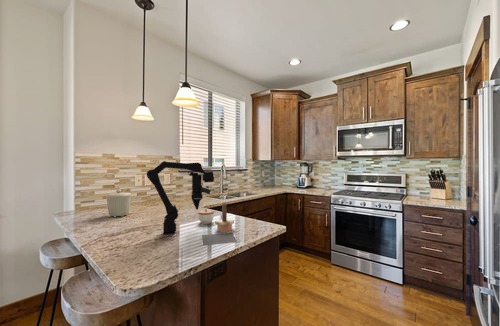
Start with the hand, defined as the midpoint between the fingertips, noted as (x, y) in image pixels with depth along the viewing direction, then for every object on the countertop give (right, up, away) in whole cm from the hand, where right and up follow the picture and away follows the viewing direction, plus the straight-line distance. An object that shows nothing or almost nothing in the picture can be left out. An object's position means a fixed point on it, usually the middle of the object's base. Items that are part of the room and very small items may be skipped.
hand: (197, 208), depth 135 cm
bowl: (+17, -13, -3) cm, 22 cm away
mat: (+16, -13, -19) cm, 28 cm away
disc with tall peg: (+17, -8, -3) cm, 19 cm away
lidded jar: (+3, -13, +15) cm, 20 cm away
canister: (-71, -14, +39) cm, 83 cm away
